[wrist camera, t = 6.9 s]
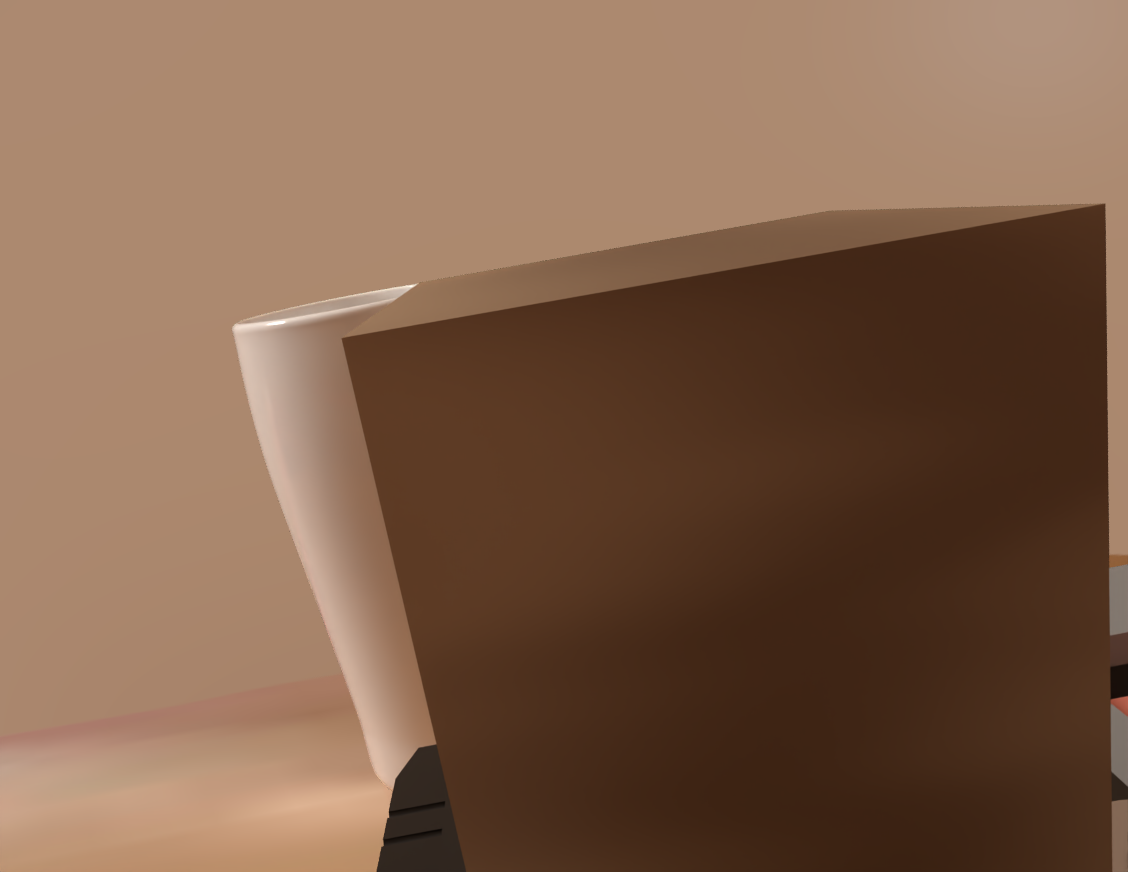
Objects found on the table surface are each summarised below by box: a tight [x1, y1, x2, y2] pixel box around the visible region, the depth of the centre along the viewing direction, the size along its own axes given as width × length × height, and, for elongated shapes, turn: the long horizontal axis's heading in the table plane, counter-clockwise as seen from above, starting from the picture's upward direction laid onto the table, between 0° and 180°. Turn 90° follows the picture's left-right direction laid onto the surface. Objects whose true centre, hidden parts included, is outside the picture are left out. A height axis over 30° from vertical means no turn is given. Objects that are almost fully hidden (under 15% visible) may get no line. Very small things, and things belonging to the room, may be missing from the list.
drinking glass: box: [232, 284, 436, 791], centre depth 27 cm, size 7×7×15 cm
